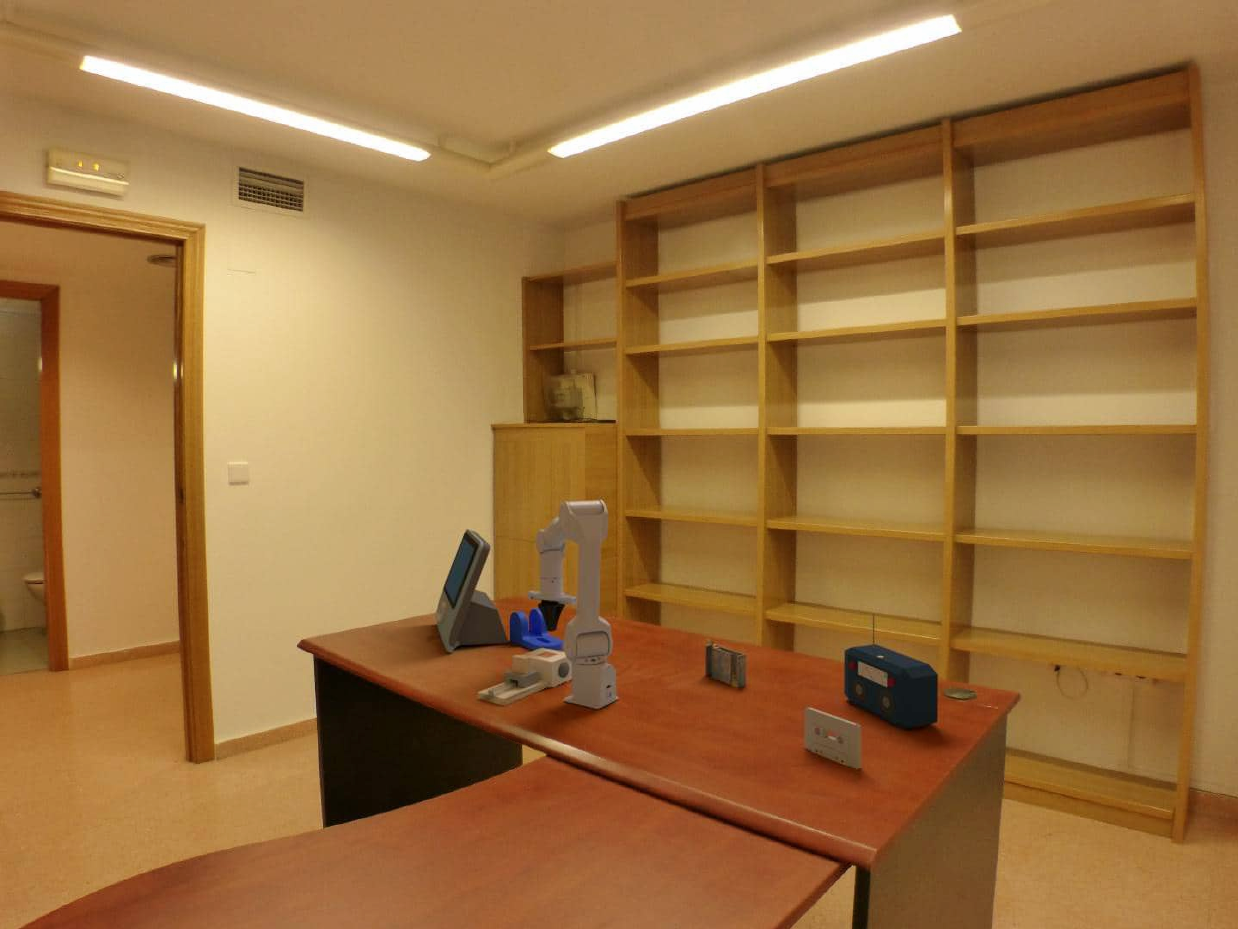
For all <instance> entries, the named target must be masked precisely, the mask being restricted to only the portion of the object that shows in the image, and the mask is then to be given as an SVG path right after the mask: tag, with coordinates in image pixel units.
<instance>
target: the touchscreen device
mask: <svg viewBox="0 0 1238 929" xmlns="http://www.w3.org/2000/svg"><path fill="white" fill-rule="evenodd" d="M490 551H491V544H490V543H489V542H487V541H486V540H485V539H484V538H483V537H482V536H481V535H480V534H479V533H478V532H476V531H474V530H471V529H468V528H467V529H465V531H464V533H463V535H462V539H461V541H460V544H459V546H458V549H457V551H456V554H455V557H454V558H453V561H452V564H451V566H450V569H449V571H448V574H447V577H446V580H445V582H444V585H443V588H442V591H441V594H440V597H439V601H438V604H437V608H436V610H435V611H436V612H435V613H434V614H433V615H434V619H435V621H436V624H437V625H436V626H437V629H438V632H439V635H440V638H441V641H442V643H443V646H444V649H445V651H446V652H448V653H449V654H453V651H454V650H455V649H456V648H457V647H458V646H459V647H460V646H476V645H500V644H501V645H502V644H503V645H504V644H509V639H508V636H507V633H506V631H505V628H504V625H503V622H502V618H501V616H500V612H499V611H498V607H496V605H495V604H494V602H493V601H492V600H491V598H490V597H489V595H488V594H487V592H484V591H480V590H478V589H476V588H477V585H478V583H479V581H480V577H481V575H482V572H483V570H484V567H485V565H486V562H487V560H488V558H489V554H490Z"/></svg>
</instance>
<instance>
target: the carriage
mask: <svg viewBox="0 0 1238 929" xmlns="http://www.w3.org/2000/svg"><path fill="white" fill-rule="evenodd" d="M521 655H522V654H515V655H512V669H509V670H506V671H504V673H503V674H504V677H503V678H504V683H509V682H511V681H514V680H517V681H518V687H523V688H525V687H527V686H530V685H532V684H535V683H537V682H539V671H535V670H531V669H530V657H526V656H521Z"/></svg>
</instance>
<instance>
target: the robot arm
mask: <svg viewBox="0 0 1238 929" xmlns="http://www.w3.org/2000/svg"><path fill="white" fill-rule="evenodd" d="M608 531H609V510H608V509H607V505H606V503H605V502H604V500H602V499H597V500H579V501H576V500H575V501H567V500H563V501H562V502H561V503H560V505H559V507H558V514H557V516H555V517H554V518H553V520H552V521H551V522H550V523H549V524H548V525H547V527H546V528H545V529H541V528H540V529H538V530H537V532H536V535H535V544H536V549H537V552H538V553H539V591H537V590H530V591H527V592H526V599H527V600H529V601H530V600H535V601H540V603H538V604H537V608H539V609H540V611H541V613H542V615H543V617H544V620H545V624H546V627H547V631H548V633H549V632H550V633H552V632H556V631H557V628H558V624H559V620H560V618H561V615H562V612H563V610H564V608H565V607H566V605H567V606H570V607H573V606H576V615H575V616H574V617H573V618H572V619H571V620H570V621H569V622H567V623H566V625H565V626H566V627H565V632H564V633H565V634H564V636H563V652H565V655H566V657H567V658H568V659H569V660H570V661H572V680H571V689H572V693H571V695H568V696H567V697H565V698H564V699H563V701H564V702H566V703H569V704H570V703H571V704H575V705H579V706H583V707H587V708H591V709H594V710H595V709H596V710H599V709H601V708H604V707H606V706H607V705H609V704H611V703H613V702H615V701H617V700H618V699H619V696H617V670H616V668H615V666H614V665H613V664H611V663H608V662H607V661H608V657H609V656H610V655H611V654H612V652H613V646H614V642H613V637H612V627H611V625H610V623H609V622H608V621H607V620H606V619H605V618H603V617H602V616H600V592H601V591H600V590H601V586H600V585H601V562H602V561H601V553H602V542H603V541H604V540H606V538H608ZM567 540H569V541H570V542H573V543H575V544H577V547H578V549H577V550H578V552H577V553H578V554H577V558H578V559H577V560H578V561H577V593H576V596H572V595H570V594H566V593H565V592H564V587H563V586H564V583H563V582H564V581H563V580H564V578H563V576H564V575H563V568H564V567H563V560H564V558H565V551H566V545H567V544H566V543H567Z"/></svg>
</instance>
